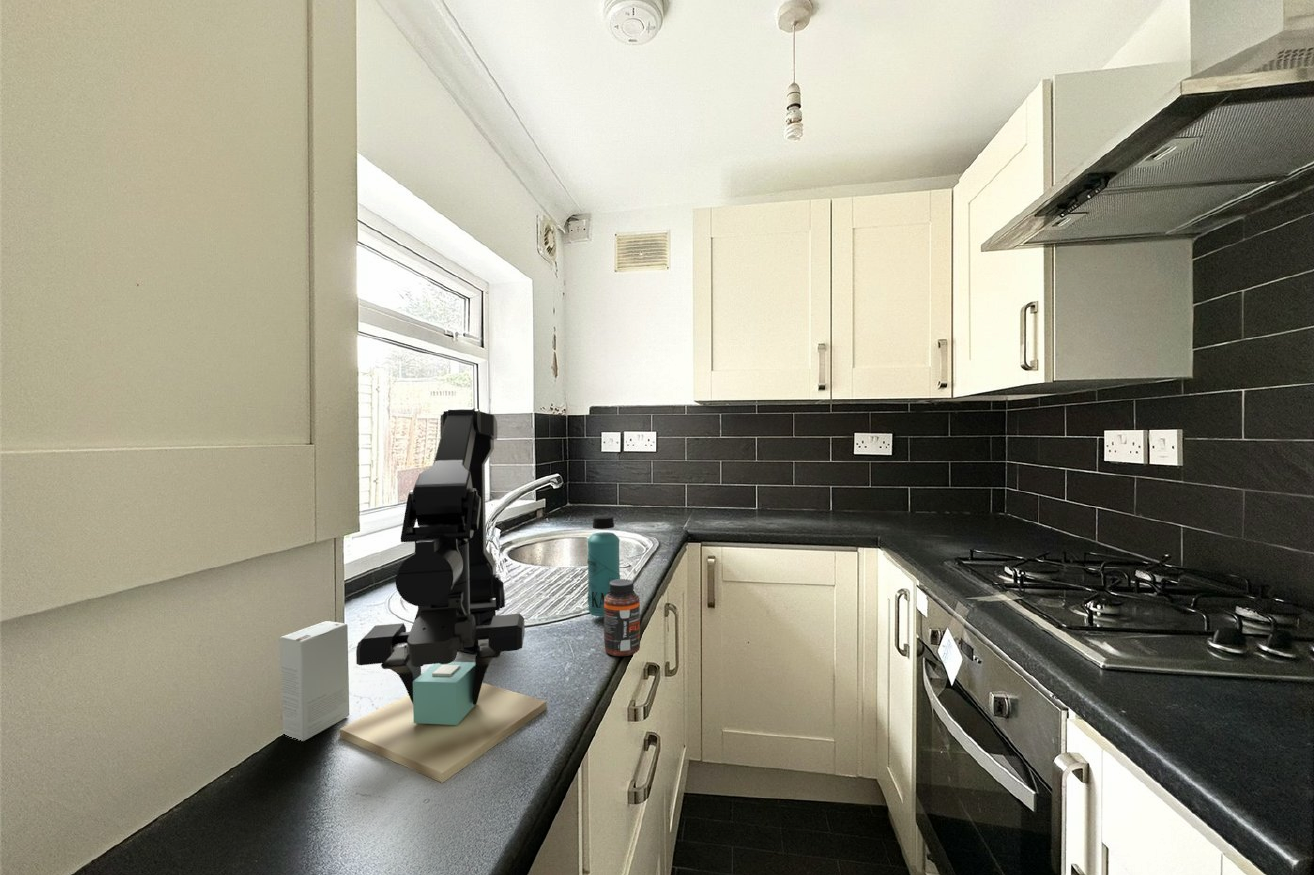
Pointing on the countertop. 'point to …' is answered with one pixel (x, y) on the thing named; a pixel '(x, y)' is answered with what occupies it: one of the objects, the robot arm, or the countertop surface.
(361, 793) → the countertop surface
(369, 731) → the post board
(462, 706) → the teal cube with pad
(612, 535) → the beverage bottle
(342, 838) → the countertop surface
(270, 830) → the countertop surface
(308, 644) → the skincare box
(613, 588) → the supplement bottle
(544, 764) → the countertop surface
